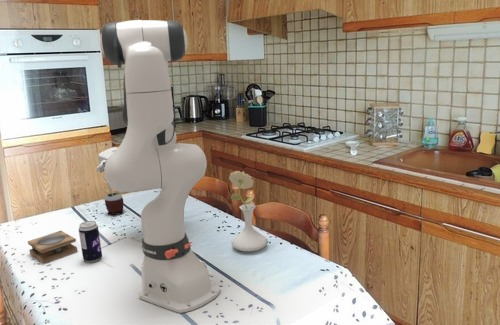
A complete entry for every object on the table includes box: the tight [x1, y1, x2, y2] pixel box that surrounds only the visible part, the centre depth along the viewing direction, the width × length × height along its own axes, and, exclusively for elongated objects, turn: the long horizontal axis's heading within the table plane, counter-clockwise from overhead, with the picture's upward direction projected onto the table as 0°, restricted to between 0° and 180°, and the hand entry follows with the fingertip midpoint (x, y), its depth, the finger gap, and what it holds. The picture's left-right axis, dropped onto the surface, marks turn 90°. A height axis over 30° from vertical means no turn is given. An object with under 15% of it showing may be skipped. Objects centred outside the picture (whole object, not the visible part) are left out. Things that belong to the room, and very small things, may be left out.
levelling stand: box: [27, 230, 79, 265], centre depth 147 cm, size 11×11×5 cm
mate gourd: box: [102, 175, 125, 217], centre depth 180 cm, size 8×8×15 cm
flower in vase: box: [228, 170, 268, 252], centre depth 143 cm, size 13×11×25 cm
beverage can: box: [78, 220, 103, 263], centre depth 140 cm, size 6×6×12 cm
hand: (109, 174), depth 141 cm, fingers open, 8 cm apart
